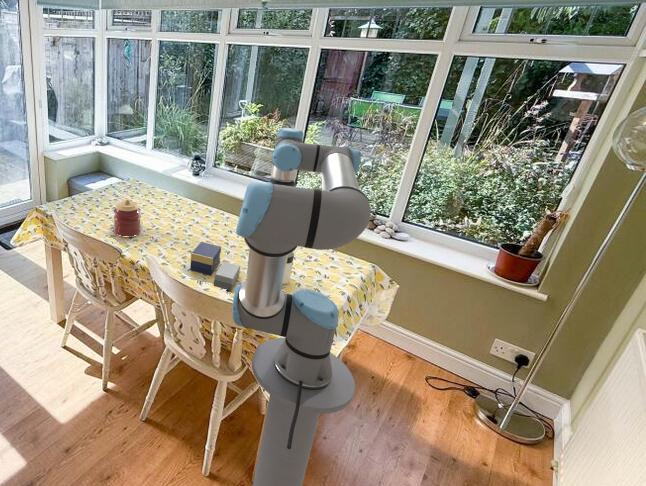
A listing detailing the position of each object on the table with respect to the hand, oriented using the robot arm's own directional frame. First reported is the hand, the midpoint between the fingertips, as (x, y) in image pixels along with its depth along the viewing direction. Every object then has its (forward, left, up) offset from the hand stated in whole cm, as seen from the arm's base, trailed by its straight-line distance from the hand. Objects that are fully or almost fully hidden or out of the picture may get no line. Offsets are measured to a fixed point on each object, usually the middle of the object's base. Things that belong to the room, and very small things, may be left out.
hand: (272, 240), depth 135 cm
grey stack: (+12, +16, -27) cm, 33 cm away
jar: (+24, -2, -27) cm, 36 cm away
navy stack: (+19, +27, -27) cm, 42 cm away
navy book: (+19, +27, -22) cm, 39 cm away
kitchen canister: (+32, +71, -27) cm, 82 cm away
